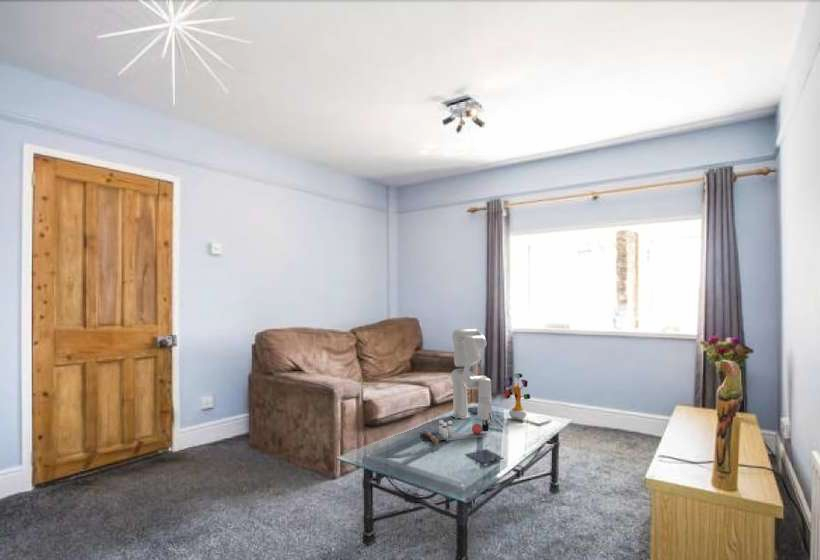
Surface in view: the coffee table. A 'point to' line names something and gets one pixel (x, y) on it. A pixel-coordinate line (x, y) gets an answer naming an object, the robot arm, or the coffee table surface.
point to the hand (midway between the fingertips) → (485, 430)
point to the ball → (477, 429)
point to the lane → (465, 435)
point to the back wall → (432, 437)
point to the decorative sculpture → (516, 397)
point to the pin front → (449, 428)
